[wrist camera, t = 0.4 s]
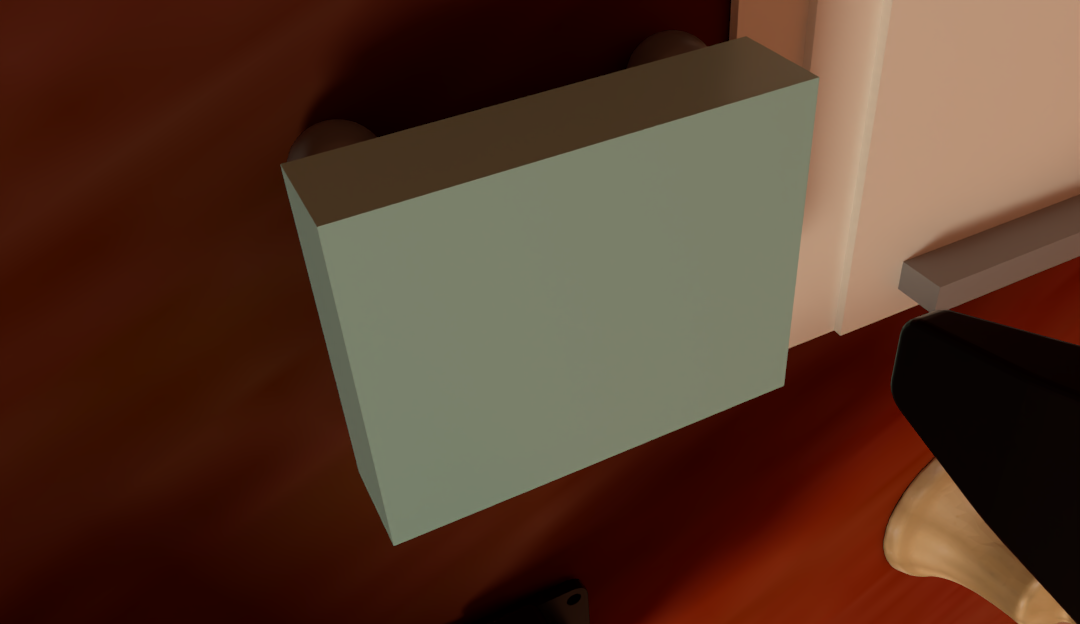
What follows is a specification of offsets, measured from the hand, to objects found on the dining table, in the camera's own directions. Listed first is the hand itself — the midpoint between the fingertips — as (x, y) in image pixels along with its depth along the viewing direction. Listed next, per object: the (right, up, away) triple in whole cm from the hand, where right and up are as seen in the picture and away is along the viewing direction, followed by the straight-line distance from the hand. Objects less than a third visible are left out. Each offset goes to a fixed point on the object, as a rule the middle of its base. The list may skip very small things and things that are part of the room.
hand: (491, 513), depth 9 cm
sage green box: (0, +4, +15) cm, 15 cm away
